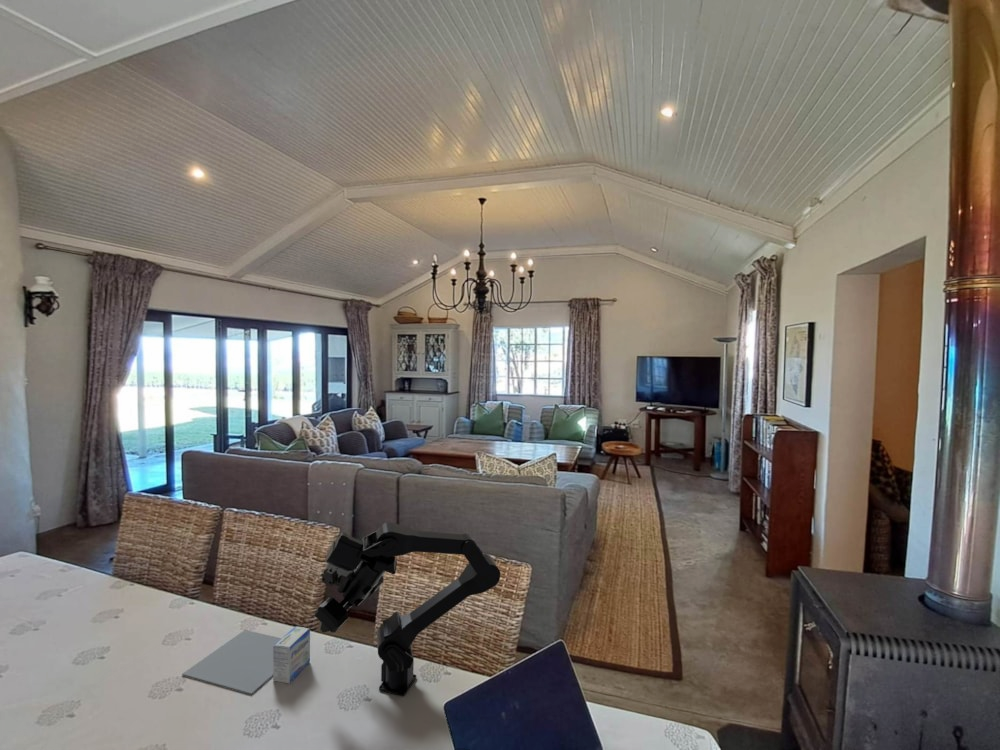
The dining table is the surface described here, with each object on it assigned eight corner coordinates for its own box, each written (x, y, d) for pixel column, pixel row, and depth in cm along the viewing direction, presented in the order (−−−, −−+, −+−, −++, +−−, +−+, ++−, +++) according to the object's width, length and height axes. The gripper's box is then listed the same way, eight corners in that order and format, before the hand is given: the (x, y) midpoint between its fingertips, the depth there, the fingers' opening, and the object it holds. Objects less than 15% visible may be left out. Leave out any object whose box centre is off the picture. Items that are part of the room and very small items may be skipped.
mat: (307, 645, 117) (307, 644, 117) (251, 695, 100) (251, 693, 100) (245, 631, 123) (245, 629, 123) (182, 675, 105) (182, 673, 105)
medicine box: (289, 684, 103) (289, 648, 103) (272, 681, 104) (272, 645, 104) (310, 662, 111) (310, 627, 111) (294, 659, 112) (294, 625, 112)
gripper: (365, 532, 113) (336, 573, 117) (314, 572, 95) (281, 619, 99) (397, 562, 111) (367, 603, 115) (351, 609, 93) (317, 655, 97)
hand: (335, 618), depth 107 cm, fingers open, 9 cm apart
